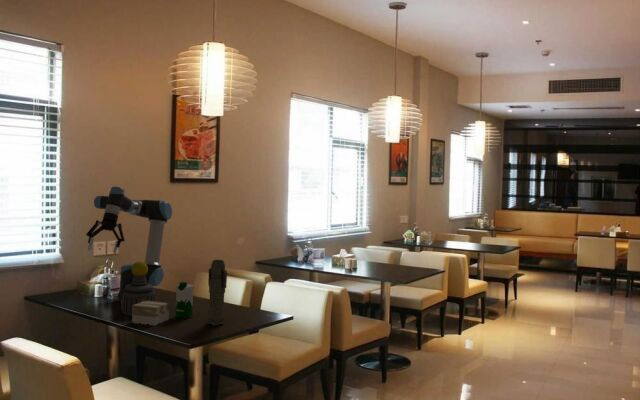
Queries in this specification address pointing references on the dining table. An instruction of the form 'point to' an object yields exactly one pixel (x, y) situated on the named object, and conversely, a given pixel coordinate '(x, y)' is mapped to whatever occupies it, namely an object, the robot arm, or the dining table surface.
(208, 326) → the dining table surface
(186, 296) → the soya milk
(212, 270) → the dark figurine statue
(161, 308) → the tower top
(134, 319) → the tower base
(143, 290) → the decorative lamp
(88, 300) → the dining table surface
